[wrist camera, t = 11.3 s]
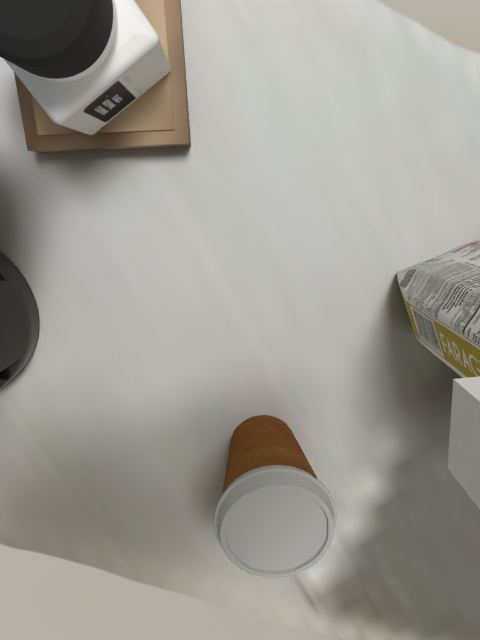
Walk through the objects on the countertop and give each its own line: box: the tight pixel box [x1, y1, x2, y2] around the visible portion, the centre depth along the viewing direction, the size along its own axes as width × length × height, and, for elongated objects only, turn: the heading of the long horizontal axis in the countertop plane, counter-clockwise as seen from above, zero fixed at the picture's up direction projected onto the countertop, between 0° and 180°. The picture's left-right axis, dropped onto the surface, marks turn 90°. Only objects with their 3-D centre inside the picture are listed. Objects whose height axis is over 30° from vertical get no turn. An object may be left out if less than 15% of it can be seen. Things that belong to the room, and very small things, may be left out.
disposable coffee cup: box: [214, 415, 337, 578], centre depth 39 cm, size 10×10×12 cm
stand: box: [14, 0, 191, 152], centre depth 33 cm, size 12×12×3 cm
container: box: [0, 0, 171, 135], centre depth 25 cm, size 8×8×13 cm
